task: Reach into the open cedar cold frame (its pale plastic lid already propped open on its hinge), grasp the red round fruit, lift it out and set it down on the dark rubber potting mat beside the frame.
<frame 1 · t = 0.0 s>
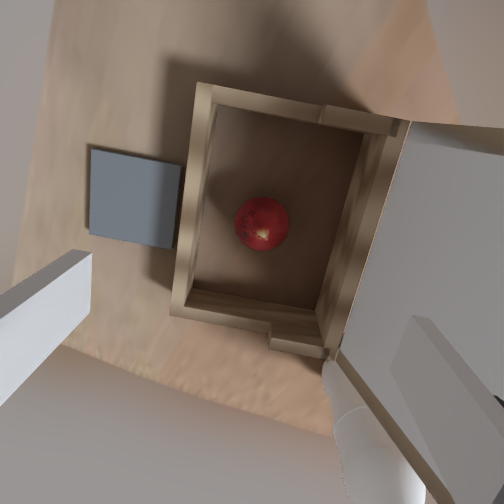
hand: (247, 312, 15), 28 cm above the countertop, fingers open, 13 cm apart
slate mat: (136, 199, 42), on the countertop
lid: (446, 306, 26), point 17 cm above the countertop, hinge at 108.0°
water bottle: (345, 362, 48), on the countertop
cold frame: (270, 217, 42), on the countertop
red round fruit: (262, 215, 42), resting in cold frame
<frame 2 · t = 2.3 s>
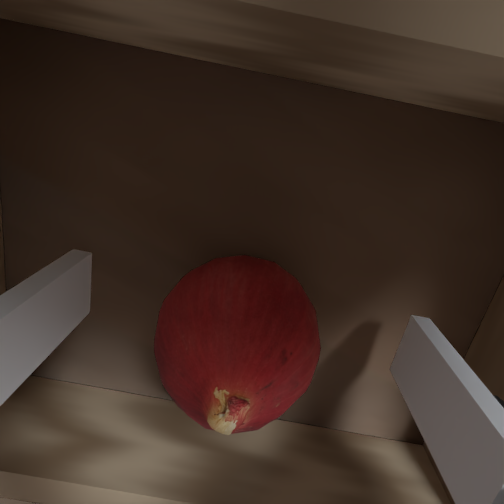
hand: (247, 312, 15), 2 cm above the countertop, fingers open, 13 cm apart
cold frame: (248, 272, 16), on the countertop
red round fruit: (244, 289, 16), resting in cold frame
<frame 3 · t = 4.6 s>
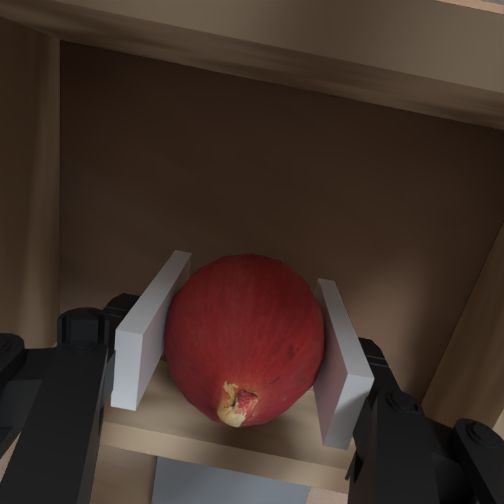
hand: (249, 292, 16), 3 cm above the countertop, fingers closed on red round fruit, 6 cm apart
slate mat: (232, 472, 24), on the countertop
cold frame: (265, 253, 19), on the countertop
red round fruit: (250, 287, 17), point 2 cm above the countertop, touching gripper
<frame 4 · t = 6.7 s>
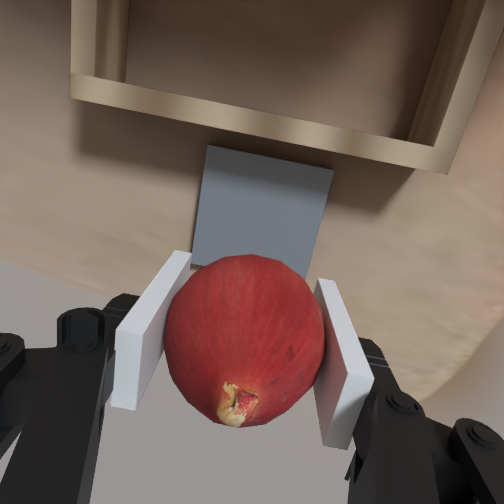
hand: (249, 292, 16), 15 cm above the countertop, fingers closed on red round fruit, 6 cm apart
slate mat: (258, 216, 30), on the countertop
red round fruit: (250, 288, 17), point 14 cm above the countertop, touching gripper
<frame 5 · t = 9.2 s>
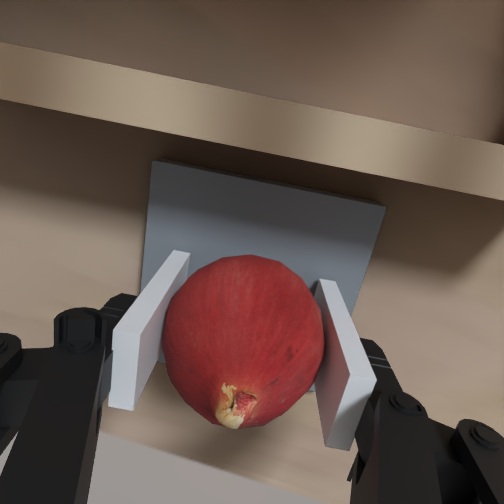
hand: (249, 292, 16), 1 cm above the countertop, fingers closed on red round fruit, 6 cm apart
slate mat: (249, 280, 17), on the countertop
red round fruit: (249, 288, 17), point 1 cm above the countertop, touching gripper, slate mat
when the fingers open (1 cm above the countertop, at t = 9.9 s): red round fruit stays where it is, resting on slate mat.
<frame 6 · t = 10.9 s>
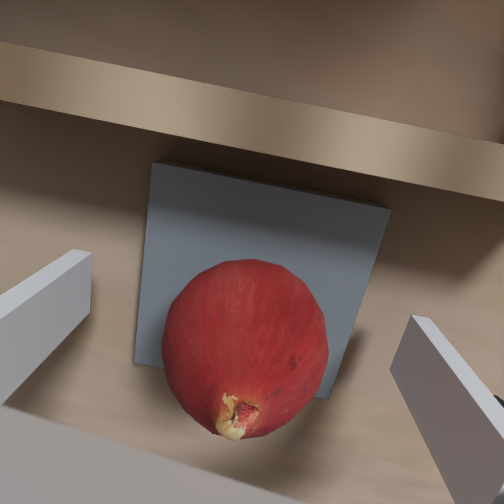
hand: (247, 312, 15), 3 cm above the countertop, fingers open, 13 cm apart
slate mat: (251, 284, 17), on the countertop
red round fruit: (251, 292, 16), point 1 cm above the countertop, touching slate mat
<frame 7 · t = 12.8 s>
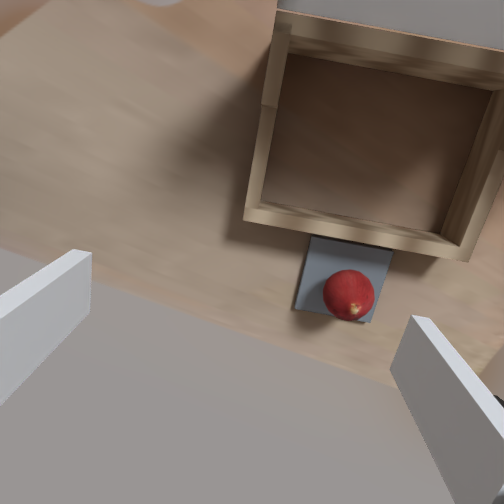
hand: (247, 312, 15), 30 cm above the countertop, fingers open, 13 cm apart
slate mat: (341, 278, 46), on the countertop
cold frame: (368, 149, 40), on the countertop
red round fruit: (342, 280, 45), point 1 cm above the countertop, touching slate mat
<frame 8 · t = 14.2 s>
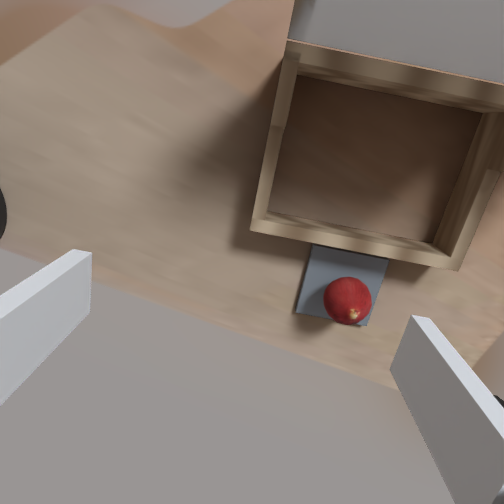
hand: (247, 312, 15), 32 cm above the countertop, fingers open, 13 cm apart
slate mat: (339, 284, 48), on the countertop
cold frame: (367, 164, 43), on the countertop
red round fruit: (341, 286, 48), point 1 cm above the countertop, touching slate mat
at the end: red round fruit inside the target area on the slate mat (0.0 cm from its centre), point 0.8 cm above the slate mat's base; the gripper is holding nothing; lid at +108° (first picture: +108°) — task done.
